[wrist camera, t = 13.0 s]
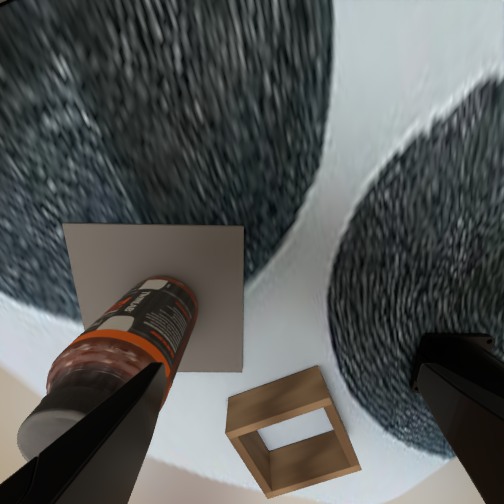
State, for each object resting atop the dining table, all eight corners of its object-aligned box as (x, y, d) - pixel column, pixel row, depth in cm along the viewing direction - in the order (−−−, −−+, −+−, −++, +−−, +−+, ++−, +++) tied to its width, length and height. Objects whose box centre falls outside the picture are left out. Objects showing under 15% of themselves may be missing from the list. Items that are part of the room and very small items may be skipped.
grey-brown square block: (243, 225, 19) (243, 226, 18) (242, 368, 23) (242, 372, 22) (67, 222, 18) (62, 223, 18) (96, 367, 22) (93, 371, 22)
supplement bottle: (144, 261, 19) (4, 366, 8) (211, 292, 20) (165, 424, 9) (120, 319, 20) (-26, 473, 10) (183, 345, 21) (115, 514, 10)
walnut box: (317, 365, 23) (329, 397, 19) (346, 431, 25) (361, 469, 22) (228, 397, 24) (225, 433, 20) (265, 458, 26) (267, 498, 23)
